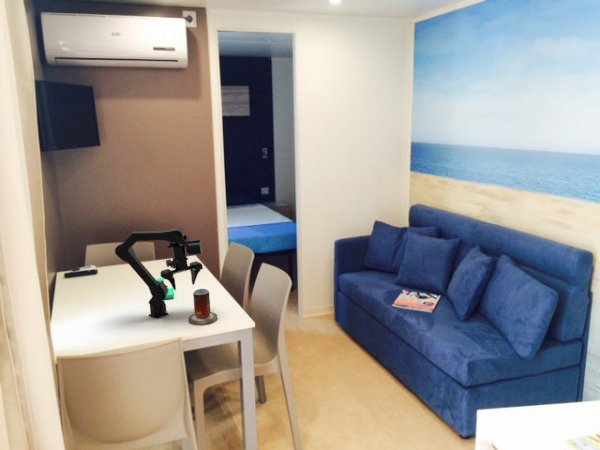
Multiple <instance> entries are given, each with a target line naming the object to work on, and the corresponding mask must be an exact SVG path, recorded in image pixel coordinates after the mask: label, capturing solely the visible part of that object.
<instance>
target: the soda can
mask: <svg viewBox="0 0 600 450" xmlns="http://www.w3.org/2000/svg"><path fill="white" fill-rule="evenodd" d="M192 296H193V309H194V314H195V315H196V317H197V318H198V319H204V318H208V317H209V314H210V312H211V299H210V291H209V290H208V289H206V288H199V289H196V290H194V291H193V293H192Z"/></svg>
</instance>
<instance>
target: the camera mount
mask: <svg viewBox="0 0 600 450" xmlns="http://www.w3.org/2000/svg"><path fill="white" fill-rule="evenodd" d="M156 280H157V281H159V282H161V281H163V282H164V283H165V279H164V278H162V277H158V278H156ZM167 288H168V287H167ZM172 298H174V289H173V287H169V288H168V294H167V296H166V298H165V299H172Z"/></svg>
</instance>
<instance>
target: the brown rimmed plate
mask: <svg viewBox="0 0 600 450" xmlns="http://www.w3.org/2000/svg"><path fill="white" fill-rule="evenodd" d="M217 320H218V314H217V313H215V312H211V311H210V314H209V317H208V318H204V319H198V318H197V317H196V315H195V313H193V314H192V315H190V316H188V318H187V321H188V323H189V324H190V325H192V326H206V325H210V324H214V323H215V322H216V321H217Z"/></svg>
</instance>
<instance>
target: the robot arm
mask: <svg viewBox="0 0 600 450" xmlns="http://www.w3.org/2000/svg"><path fill="white" fill-rule="evenodd" d="M140 241H142V242H143V241H146V242H147V241H148V242H149V241H164V242H168V243H169V244H168V245H167V248H168V249H171V250H172V255H173V257H172V260H171V259H170V258H169V259H166V260H165V265H166V267H170V268H167V269H162V270H161V271H160V274H159V275H160V278H163V279H164V280H167V281H168V282H169V283H170V285H171V288H173V291H177V288H176V281H175V277H174V275H176V274H180V273H183V272H187V271H190V276H191V284H192V285H195V283H196V280H197V278H198V275H199V273H200V272H201V270H203V269H204V267H203V263H201V262H199V261H196V260H195V261H192V262H190V263H189V265H188V259H189V258H188V257H187V254H188V255H189V256H192V255H193V256H194V255H203V244H202V241H201V239H200V238H198V239H190V238H189V237H188V236H187V235H186V234H185V231H184V229H182V228H180V227H174V228H170V229H167V230H154V231H153V230H151V231H149V230H147V231H139V230H138V231H137V230H135V231H133V232H132V233H130V235H129V237H128V238H127V239H125V241H123V242H121V243H119V244H118V245H117V246H116V247H115V249H114V253H115V255H116V256H117V257H118V258H119V259H120V260H122V261H124V262H125V263H127V264H128V265H129V266H130V267H131V269H132V270H133V271H135V273H136V274H137V275H138V276H139V278H141V280H142V281H143V282H144V283H145V285H146V286H147V287H148V289H149V292H150V294H151V297H150V299H149V301H148V304H149V310H150V311H149V314H148V317H151V318H154V319H159V318H162V317H165V316H167V315H169V313H168V312H167V304H166V302H165V300H166V299H167V298H166V296H167V294H168V285H166V284H165V281H164V282H163V281H161V282H159V281H157V278H155V277H154V276H153V275H152V273H151V272H150V271H149V270H148V268H147V267H146V266H145V265H144V264H143V263H142V262H141V261H140V259H139V258H138V257H137V255H136V252H135V250H134V248H133V246H134V245H136V243H137V242H140ZM171 269H172V270H171Z"/></svg>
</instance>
